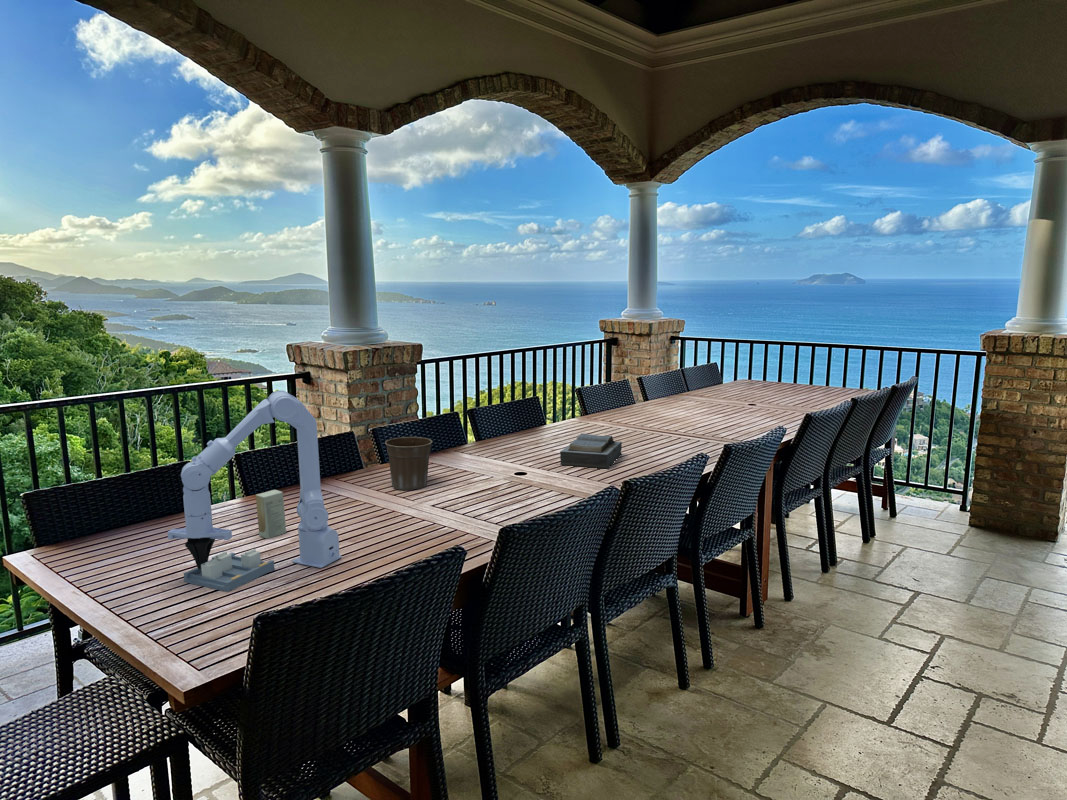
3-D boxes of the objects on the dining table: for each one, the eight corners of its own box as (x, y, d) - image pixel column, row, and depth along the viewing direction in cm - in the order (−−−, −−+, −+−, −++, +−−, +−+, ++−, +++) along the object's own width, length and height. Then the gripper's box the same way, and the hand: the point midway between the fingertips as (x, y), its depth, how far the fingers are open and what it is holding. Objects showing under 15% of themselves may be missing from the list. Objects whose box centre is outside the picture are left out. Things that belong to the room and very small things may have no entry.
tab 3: (260, 565, 173) (259, 549, 172) (250, 570, 170) (249, 554, 169) (251, 563, 174) (250, 547, 174) (241, 568, 171) (240, 552, 171)
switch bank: (274, 569, 173) (273, 560, 173) (227, 592, 160) (227, 582, 160) (232, 560, 179) (231, 551, 178) (184, 581, 166) (183, 572, 165)
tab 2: (232, 568, 171) (231, 552, 171) (221, 573, 168) (220, 556, 168) (223, 566, 172) (222, 550, 172) (212, 571, 170) (211, 555, 169)
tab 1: (222, 575, 167) (221, 559, 166) (211, 580, 164) (210, 564, 163) (213, 573, 168) (211, 557, 167) (202, 578, 165) (200, 562, 165)
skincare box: (278, 529, 202) (276, 488, 200) (286, 533, 199) (284, 491, 197) (257, 536, 197) (254, 493, 195) (265, 539, 194) (263, 496, 192)
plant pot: (438, 480, 253) (437, 436, 251) (427, 493, 237) (425, 446, 235) (394, 479, 255) (392, 436, 252) (380, 492, 239) (378, 446, 236)
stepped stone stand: (632, 458, 287) (632, 434, 285) (603, 473, 264) (603, 447, 262) (581, 451, 299) (581, 429, 297) (549, 465, 276) (549, 440, 274)
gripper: (236, 507, 168) (240, 561, 171) (177, 507, 169) (182, 560, 171) (222, 517, 161) (226, 573, 164) (160, 516, 162) (165, 572, 164)
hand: (202, 567), depth 167 cm, fingers closed
